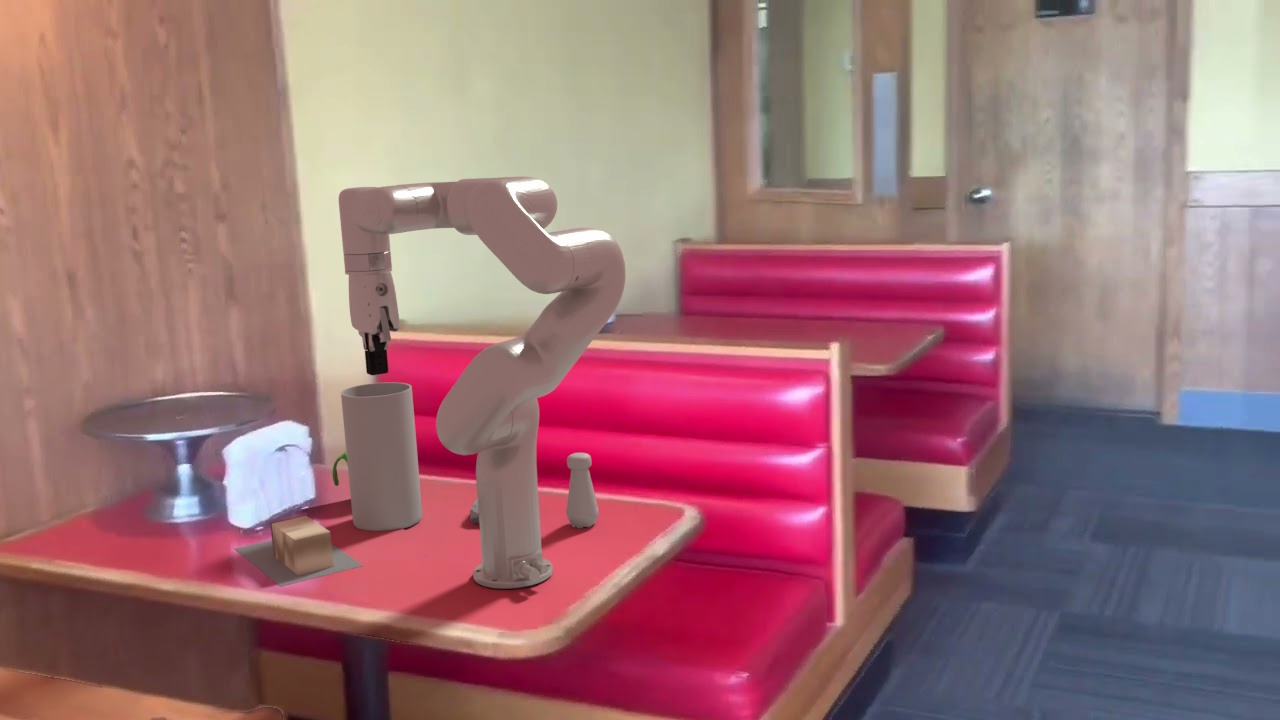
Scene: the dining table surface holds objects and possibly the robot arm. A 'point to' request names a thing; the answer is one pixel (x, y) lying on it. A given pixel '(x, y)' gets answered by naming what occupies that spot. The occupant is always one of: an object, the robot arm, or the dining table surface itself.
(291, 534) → the birch block
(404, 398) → the cylinder vase
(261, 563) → the slate mat
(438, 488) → the dining table surface
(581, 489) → the salt shaker
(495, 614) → the dining table surface
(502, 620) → the dining table surface
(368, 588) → the dining table surface
